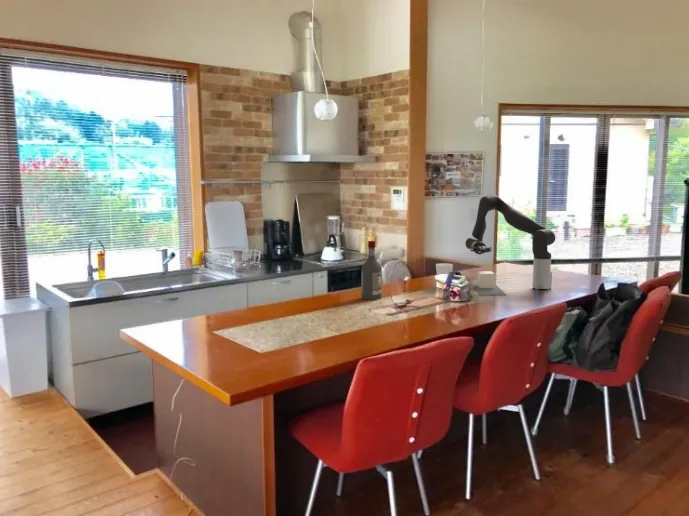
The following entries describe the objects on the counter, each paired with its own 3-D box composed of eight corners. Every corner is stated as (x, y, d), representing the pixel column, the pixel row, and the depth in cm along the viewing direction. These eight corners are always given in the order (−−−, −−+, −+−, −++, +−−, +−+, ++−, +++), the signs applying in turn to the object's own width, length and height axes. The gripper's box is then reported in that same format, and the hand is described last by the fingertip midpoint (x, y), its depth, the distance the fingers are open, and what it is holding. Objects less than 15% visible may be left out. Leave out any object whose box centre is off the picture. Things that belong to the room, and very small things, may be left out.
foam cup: (432, 286, 335) (432, 264, 334) (445, 285, 339) (446, 263, 337) (441, 289, 327) (442, 266, 325) (455, 287, 331) (456, 265, 329)
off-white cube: (477, 285, 336) (477, 271, 334) (491, 285, 335) (491, 271, 334) (479, 288, 328) (480, 273, 326) (494, 288, 327) (494, 273, 326)
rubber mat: (471, 285, 338) (471, 284, 338) (495, 285, 337) (495, 284, 337) (480, 295, 310) (480, 294, 310) (506, 295, 309) (506, 294, 309)
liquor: (359, 299, 303) (359, 241, 298) (367, 295, 311) (367, 239, 306) (375, 300, 298) (376, 242, 294) (383, 297, 306) (383, 240, 302)
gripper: (467, 241, 354) (472, 244, 337) (489, 241, 353) (495, 244, 336) (467, 253, 355) (472, 257, 338) (489, 253, 354) (495, 257, 337)
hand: (483, 251), depth 337 cm, fingers closed
